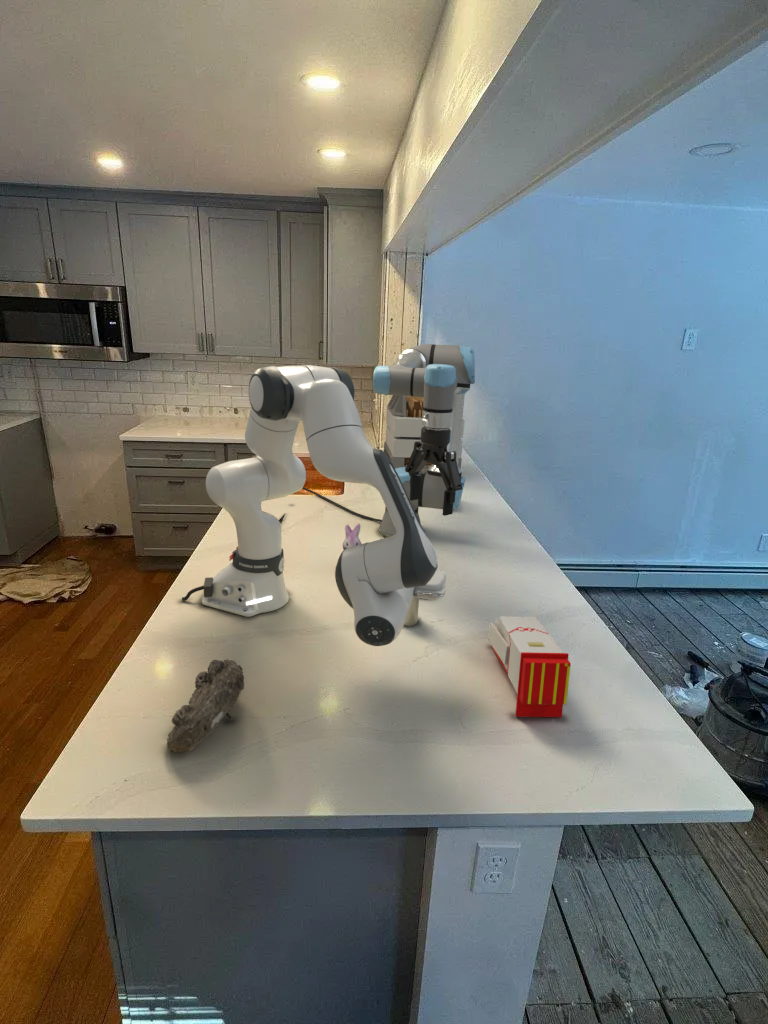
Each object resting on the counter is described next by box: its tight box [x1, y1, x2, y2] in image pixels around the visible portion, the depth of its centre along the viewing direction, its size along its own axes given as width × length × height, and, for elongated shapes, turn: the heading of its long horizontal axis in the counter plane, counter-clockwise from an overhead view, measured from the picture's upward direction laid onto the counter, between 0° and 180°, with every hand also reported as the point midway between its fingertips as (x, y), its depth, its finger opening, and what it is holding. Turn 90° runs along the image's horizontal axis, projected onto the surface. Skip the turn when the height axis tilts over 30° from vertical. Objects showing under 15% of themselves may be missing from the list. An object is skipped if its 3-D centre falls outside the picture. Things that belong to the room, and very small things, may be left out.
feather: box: [278, 513, 286, 523], centre depth 210 cm, size 2×28×2 cm
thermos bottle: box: [404, 597, 420, 627], centre depth 142 cm, size 5×5×15 cm
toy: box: [487, 616, 572, 718], centre depth 123 cm, size 12×13×30 cm
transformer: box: [383, 395, 465, 471], centre depth 268 cm, size 34×33×41 cm
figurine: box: [342, 523, 362, 550], centre depth 167 cm, size 9×10×15 cm
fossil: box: [166, 658, 245, 754], centre depth 106 cm, size 22×10×15 cm
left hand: (403, 563), depth 126 cm, fingers open, 8 cm apart
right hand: (430, 506), depth 150 cm, fingers open, 13 cm apart
